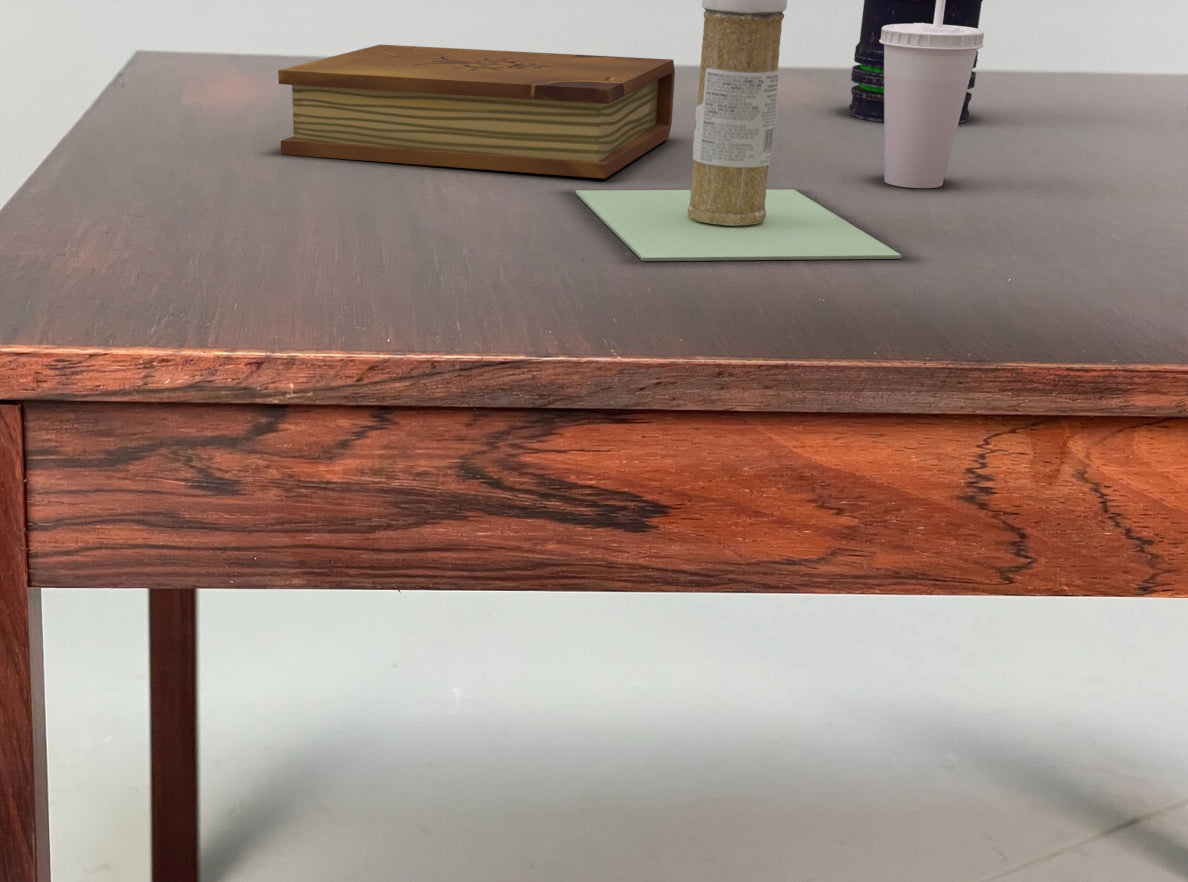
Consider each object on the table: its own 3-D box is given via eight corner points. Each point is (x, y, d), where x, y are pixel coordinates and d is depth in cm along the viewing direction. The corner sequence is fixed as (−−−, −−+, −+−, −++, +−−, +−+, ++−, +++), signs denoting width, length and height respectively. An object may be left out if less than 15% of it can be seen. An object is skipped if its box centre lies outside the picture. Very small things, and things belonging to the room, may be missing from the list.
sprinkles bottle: (706, 208, 96) (725, -33, 91) (778, 218, 94) (802, -28, 88) (672, 221, 92) (690, -29, 87) (746, 232, 90) (769, -24, 85)
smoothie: (891, 193, 103) (920, -42, 97) (846, 174, 108) (871, -48, 103) (982, 190, 104) (1016, -41, 99) (933, 172, 110) (962, -47, 104)
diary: (670, 139, 121) (676, 58, 118) (605, 181, 104) (610, 89, 102) (383, 117, 127) (383, 40, 125) (280, 154, 111) (278, 66, 109)
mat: (901, 258, 86) (901, 254, 86) (642, 261, 84) (642, 257, 84) (793, 192, 102) (794, 189, 102) (575, 193, 100) (575, 190, 100)
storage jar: (906, 104, 140) (929, -81, 135) (995, 120, 133) (1024, -75, 127) (822, 111, 135) (842, -81, 130) (909, 128, 128) (935, -75, 122)
